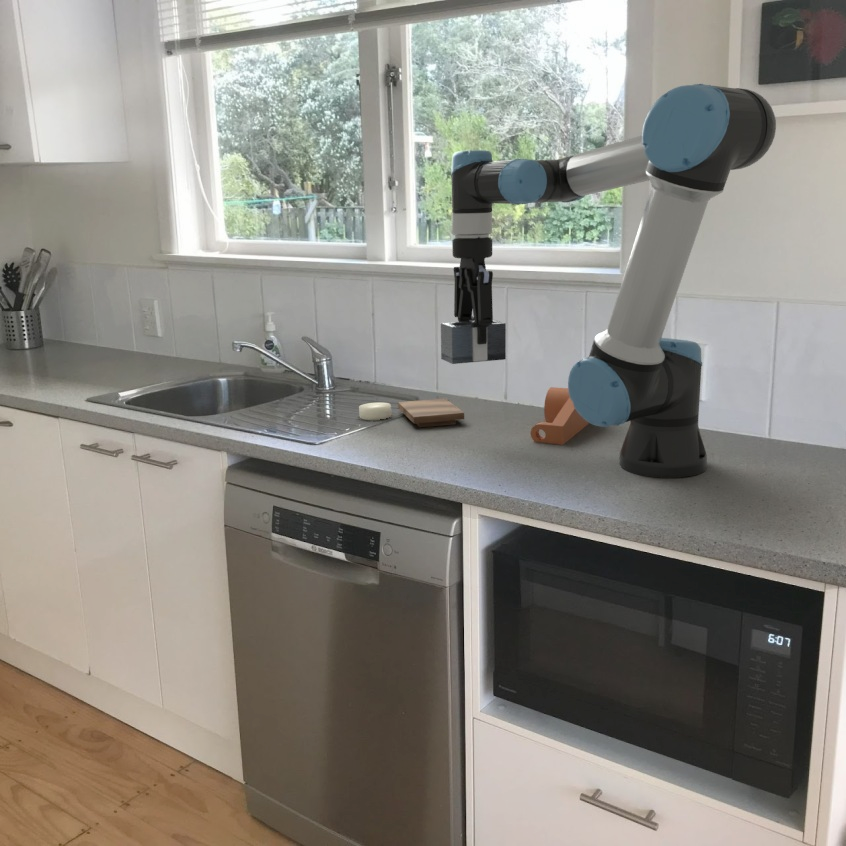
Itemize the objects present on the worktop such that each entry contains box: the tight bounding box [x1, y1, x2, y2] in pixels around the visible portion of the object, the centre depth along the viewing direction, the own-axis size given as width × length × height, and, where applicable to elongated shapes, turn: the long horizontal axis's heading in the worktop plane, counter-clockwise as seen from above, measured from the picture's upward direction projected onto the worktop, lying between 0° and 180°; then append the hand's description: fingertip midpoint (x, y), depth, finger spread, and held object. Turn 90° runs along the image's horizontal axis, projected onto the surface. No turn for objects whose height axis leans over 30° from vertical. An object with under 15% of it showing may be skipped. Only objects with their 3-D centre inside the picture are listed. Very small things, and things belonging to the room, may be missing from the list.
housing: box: [440, 319, 507, 365], centre depth 177 cm, size 6×11×7 cm, turn 110°
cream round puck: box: [358, 401, 392, 421], centre depth 204 cm, size 7×7×3 cm
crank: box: [530, 386, 590, 446], centre depth 189 cm, size 20×8×8 cm, turn 154°
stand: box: [397, 397, 465, 428], centre depth 201 cm, size 15×11×3 cm
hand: (473, 357), depth 178 cm, fingers closed on housing, 6 cm apart
